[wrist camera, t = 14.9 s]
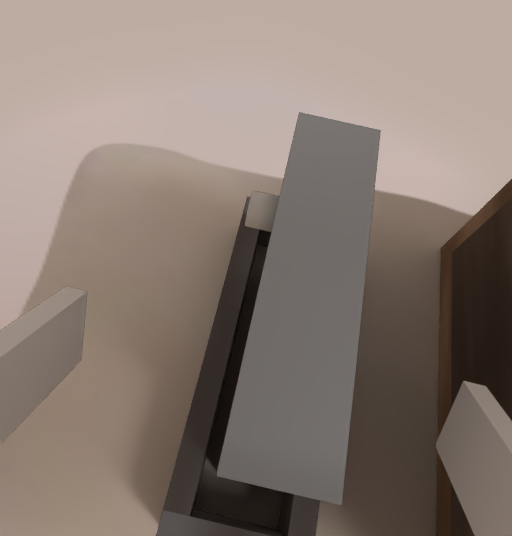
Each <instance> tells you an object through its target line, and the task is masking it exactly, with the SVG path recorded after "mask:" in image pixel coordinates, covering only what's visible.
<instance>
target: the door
mask: <svg viewBox="0 0 512 536" xmlns="http://www.w3.org/2000/svg"><path fill="white" fill-rule="evenodd" d="M379 140H380V130H377V129H372V128H368V127H363V126H359V125H354V124H350V123H345V122H341V121H336V120H332V119H327V118H323V117H318V116H314V115H309V114H304V113H299V115H298V119H297V123H296V128H295V132H294V136H293V141H292V145H291V149H290V154H289V158H288V162H287V167H286V171H285V175H284V180H283V184H282V188H281V193H280V196H276V195H271V194H267V193H262V192H258V191H254V190H253V191H252V194H251V198H250V201H249V206H248V210H247V215H246V221H245V226H247V227H251V228H256V229H260V230H265V231H269V232H271V236H270V240H269V245H268V249H267V253H266V258H265V262H264V266H263V271H262V275H261V279H260V284H259V288H258V293H257V297H256V301H255V306H254V310H253V315H252V319H251V323H250V328H249V332H248V337H247V341H246V346H245V350H244V354H243V359H242V363H241V368H240V372H239V376H238V381H237V385H236V390H235V394H234V398H233V403H232V407H231V412H230V416H229V421H228V425H227V429H226V434H225V438H224V443H223V447H222V451H221V456H220V460H219V465H218V469H217V476H218V477H223V478H227V479H231V480H235V481H240V482H244V483H248V484H252V485H257V486H261V487H265V488H269V489H274V490H278V491H282V492H286V493H291V494H295V495H299V496H303V497H307V498H312V499H316V500H320V501H324V502H329V503H333V504H337V505H341V506H342V497H343V487H344V478H345V468H346V459H347V449H348V439H349V430H350V420H351V410H352V401H353V391H354V382H355V372H356V362H357V353H358V343H359V334H360V324H361V314H362V305H363V295H364V285H365V276H366V266H367V257H368V247H369V237H370V228H371V218H372V208H373V199H374V189H375V179H376V170H377V160H378V150H379Z"/></svg>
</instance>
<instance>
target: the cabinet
mask: <svg viewBox="0 0 512 536" xmlns="http://www.w3.org/2000/svg"><path fill="white" fill-rule="evenodd" d="M250 198H251V197H247V200H246V204H245V207H244V211H243V215H242V219H241V222H240V226H239V230H238V233H237V237H236V241H235V245H234V248H233V252H232V256H231V259H230V263H229V267H228V271H227V274H226V278H225V282H224V285H223V289H222V293H221V297H220V300H219V304H218V308H217V311H216V315H215V319H214V323H213V326H212V330H211V334H210V337H209V341H208V345H207V349H206V352H205V356H204V360H203V363H202V367H201V371H200V375H199V378H198V382H197V386H196V389H195V393H194V397H193V401H192V404H191V408H190V412H189V415H188V419H187V423H186V427H185V430H184V434H183V438H182V441H181V445H180V449H179V453H178V456H177V460H176V464H175V467H174V471H173V475H172V479H171V482H170V486H169V490H168V493H167V497H166V501H165V505H164V508H163V512H162V516H161V519H160V523H159V527H158V531H157V534H156V536H315V535H316V527H317V519H318V511H319V503H320V500H316V499H312V498H307V497H303V496H299V495H295V494H291V493H286V492H283V495H282V501H281V507H280V514H279V520H278V526H277V529H274V528H270V527H266V526H262V525H257V524H253V523H249V522H245V521H241V520H236V519H232V518H228V517H224V516H220V515H215V514H211V513H207V512H203V511H199V510H194V505H195V501H196V497H197V493H198V489H199V485H200V480H201V476H202V472H203V468H204V464H205V460H206V456H207V451H208V447H209V443H210V439H211V435H212V431H213V427H214V422H215V418H216V414H217V410H218V406H219V402H220V398H221V393H222V389H223V385H224V381H225V377H226V373H227V369H228V364H229V360H230V356H231V352H232V348H233V344H234V340H235V335H236V331H237V327H238V323H239V319H240V315H241V310H242V306H243V302H244V298H245V294H246V290H247V286H248V281H249V277H250V273H251V269H252V265H253V261H254V257H255V252H256V248H257V245H261V246H266V247H268V245H269V240H270V236H271V232H269V231H265V230H260V229H256V228H251V227H247V226H245V221H246V215H247V210H248V206H249V201H250ZM463 381H467V382H471V383H475V384H479V385H483V386H486V387H487V388H488V390H489V391H490V392H491V394H492V395H493V396H494V398H495V399H496V400H497V402H498V403H499V405H500V406H501V407H502V409H503V410H504V411H505V413H506V414H507V415H508V417H509V418H510V419H511V421H512V179H511V180H510V181H509V182H508V183H507V184H506V185H505V186H504V187H503V188H502V189H501V190H500V191H499V192H498V193H497V194H496V195H495V196H494V197H493V198H492V199H491V200H490V201H489V202H488V203H487V204H486V205H485V206H484V207H483V208H482V209H481V210H480V211H479V212H478V213H477V214H476V215H474V216H473V217H472V218H471V219H470V220H469V221H468V222H467V223H466V224H465V225H464V226H463V227H462V228H461V229H460V230H459V231H458V232H457V233H456V234H455V235H454V236H453V237H452V238H451V239H450V240H449V241H448V242H447V243H446V244H445V245H444V246H443V247H442V248H441V278H440V340H439V402H438V438H439V435H440V433H441V431H442V429H443V426H444V424H445V422H446V419H447V417H448V415H449V413H450V410H451V408H452V406H453V403H454V401H455V399H456V397H457V394H458V392H459V390H460V387H461V385H462V383H463ZM436 536H475V535H474V533H473V531H472V528H471V526H470V524H469V522H468V519H467V517H466V515H465V512H464V510H463V508H462V506H461V503H460V501H459V499H458V497H457V494H456V492H455V490H454V487H453V485H452V483H451V481H450V478H449V476H448V474H447V471H446V469H445V467H444V465H443V462H442V460H441V458H440V455H439V453H438V464H437V527H436Z"/></svg>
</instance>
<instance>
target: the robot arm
mask: <svg viewBox="0 0 512 536" xmlns="http://www.w3.org/2000/svg"><path fill="white" fill-rule="evenodd" d="M86 301H87V291H83V290H79V289H74V288H70V287H64V288H63V289H61V290H60V291H58V292H57V293H55V294H54V295H52V296H51V297H49V298H48V299H46V300H45V301H43V302H42V303H40V304H39V305H37V306H36V307H34V308H33V309H31V310H30V311H28V312H27V313H25V314H24V315H22V316H21V317H19V318H18V319H16V320H15V321H13V322H12V323H10V324H9V325H8V326H6V327H4V328H3V329H1V330H0V445H1V444H2V443H3V442H4V441H5V440H6V439H7V438H8V437H9V436H10V435H11V434H12V432H13V431H14V430H15V429H16V428H17V427H18V426H19V425H20V424H21V423H22V422H23V421H24V420H25V419H26V418H27V417H28V416H29V415H30V414H31V412H32V411H33V410H34V409H35V408H36V407H37V406H38V405H39V404H40V403H41V402H42V401H43V400H44V399H45V398H46V397H47V396H48V395H49V394H50V392H51V391H52V390H53V389H54V388H55V387H56V386H57V385H58V384H59V383H60V382H61V381H62V380H63V379H64V378H65V377H66V376H67V375H68V374H69V372H70V371H71V370H72V369H73V368H74V367H75V366H76V365H77V364H78V363H79V362H80V361H81V358H82V347H83V336H84V324H85V313H86ZM435 446H436V449H437V451H438V453H439V455H440V458H441V460H442V462H443V465H444V467H445V469H446V471H447V474H448V476H449V478H450V481H451V483H452V485H453V487H454V490H455V492H456V494H457V497H458V499H459V501H460V503H461V506H462V508H463V510H464V512H465V515H466V517H467V519H468V522H469V524H470V526H471V528H472V531H473V533H474V535H475V536H512V421H511V419H510V418H509V417H508V415H507V414H506V413H505V411H504V410H503V409H502V407H501V406H500V405H499V403H498V402H497V400H496V399H495V398H494V396H493V395H492V394H491V392H490V391H489V390H488V388H487V387H486V386H483V385H479V384H475V383H471V382H467V381H463V383H462V385H461V387H460V390H459V392H458V394H457V397H456V399H455V401H454V403H453V406H452V408H451V410H450V413H449V415H448V417H447V419H446V422H445V424H444V426H443V429H442V431H441V433H440V435H439V438H438V440H437V442H436V445H435Z"/></svg>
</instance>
